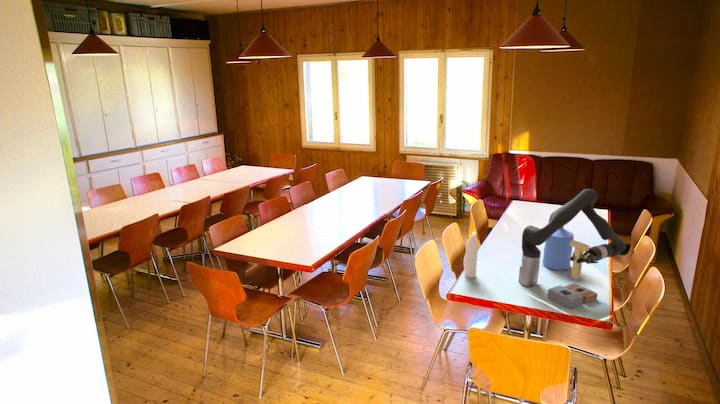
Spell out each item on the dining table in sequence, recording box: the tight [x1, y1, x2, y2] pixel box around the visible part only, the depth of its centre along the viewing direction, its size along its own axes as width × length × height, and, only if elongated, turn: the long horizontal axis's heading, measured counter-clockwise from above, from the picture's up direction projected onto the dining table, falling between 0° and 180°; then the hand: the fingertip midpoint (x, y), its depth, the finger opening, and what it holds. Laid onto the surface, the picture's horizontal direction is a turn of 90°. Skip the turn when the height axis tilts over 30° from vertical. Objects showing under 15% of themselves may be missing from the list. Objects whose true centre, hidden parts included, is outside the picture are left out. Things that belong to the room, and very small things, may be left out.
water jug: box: [542, 226, 575, 271], centre depth 286 cm, size 16×16×28 cm
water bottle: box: [464, 231, 479, 279], centre depth 275 cm, size 9×6×25 cm
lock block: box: [563, 282, 598, 304], centre depth 250 cm, size 14×9×4 cm, turn 30°
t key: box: [570, 239, 590, 280], centre depth 242 cm, size 9×3×18 cm, turn 30°
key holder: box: [547, 284, 584, 310], centre depth 244 cm, size 14×9×6 cm, turn 30°
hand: (574, 260), depth 240 cm, fingers closed on t key, 3 cm apart
